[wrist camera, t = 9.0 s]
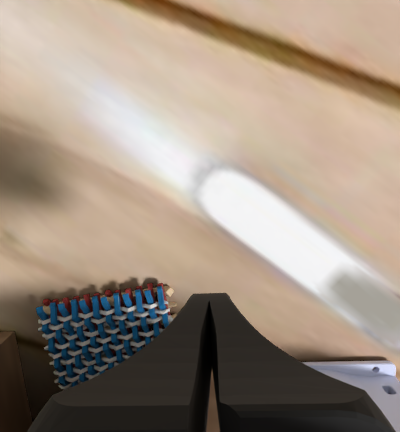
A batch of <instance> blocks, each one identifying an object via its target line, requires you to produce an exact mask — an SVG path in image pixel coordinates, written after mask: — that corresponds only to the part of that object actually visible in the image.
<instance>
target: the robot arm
mask: <svg viewBox="0 0 400 432" xmlns="http://www.w3.org/2000/svg"><path fill="white" fill-rule="evenodd" d="M374 367H376V368H375V369H373V368H374ZM212 371H213V380H214V388H215V396H216V404H217V412H218V420H219V429H220V432H400V381H399V380H398V379H397V378H396V377H395V374H396V366H395V365H394V364H393V363H392V362H391V361H336V362H300V361H298V360H296V359H295V358H293V357H292V356H290V355H288V354H287V353H285V352H284V351H282V350H281V349H279V348H278V347H276V346H275V345H274V344H272V343H271V342H270V341H269V340H267V339H266V338H265V337H263V336H262V335H261V334H260V333H259V332H258V331H257V330H256V329H255V328H254V327H253V326H252V325H251V324H250V323H249V322H248V321H247V320H246V318H245V317H244V316H243V315H242V314H241V313H240V311H239V310H238V309H237V307H236V306H235V305H234V303H233V302H232V300H231V299H230V297H229V296H228V295H227V294H226V293H210V294H193V295H192V296H191V297H190V298H189V300H188V301H187V303H186V304H185V306H184V307H183V308H182V310H181V311H180V312H179V313H178V314H177V316H176V317H175V318H174V319H173V321H172V322H171V323H170V324H169V325H168V326H167V327H166V328H165V329H164V330H163V331H162V332H161V333H160V334H159V335H158V336H157V337H156V338H155V339H154V340H152V341H151V342H150V343H149V344H148V345H146V346H145V347H144V348H142V349H141V350H140V351H138V352H137V353H135V354H134V355H132V356H131V357H129V358H128V359H126V360H125V361H123V362H122V363H120V364H118V365H116V366H115V367H113V368H111V369H109V370H108V371H106V372H104V373H102V374H100V375H98V376H96V377H94V378H92V379H90V380H87V381H85V382H83V383H80V384H78V385H76V386H73V387H71V388H68V389H66V390H64V391H61V392H59V393H56V394H53V395H52V396H51V398H50V399H49V400H48V402H47V403H46V404H45V406H44V407H43V408H42V410H41V411H40V412H39V414H38V415H37V417H36V419H35V420H34V422H33V423H32V425H31V426H30V428H29V429H28V431H27V432H206V431H207V419H208V408H209V397H210V385H211V374H212Z"/></svg>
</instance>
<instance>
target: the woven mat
mask: <svg viewBox="0 0 400 432" xmlns="http://www.w3.org/2000/svg"><path fill="white" fill-rule="evenodd" d="M147 286H148V289H142V286H138V287H136V289H137V290H135V291H132V290H131V288H126V290H125V292H121V291H120V290H116V291H115V292H114V294H113V293H112V292H111V291H110V290H106V291H105V295H106V296H105V295H102V296H100V294H99V293H95V294H94V295H93V296H94V297H90V295H89V294H86V295H84V298H82V299H80V298H79V296H75V297H74V298H73V300H69V298H68V297H66V298H63V299H62V301H63V302H59V301H58V299H54V300H53V301H52V302H51V301H50V300H49V299H44V300H43V304H44V305H45V306H40V307H37V308H36V311H37V314H38V316H39V317H40V318H41V320H39V319H38V323H40V324H42V327H40V328H38V331H43V332H44V333H45V334H43V335H42V337H44V338H46V340H48V346H46V347H44V349H45V351H46V350H48V351H49V352H51V353H52V354H51V353H49V354H48V355H49V356H50V357H52V358H53V359H54V361H52V362H50V365H52V364H54V368H55V369H56V370H57V371H54V374H55V375H57V376H59V378H58V379H56V380H55V383H57V382H58V383H60V384H61V385H58V387H59V388H61V389H63V390H66V389H68V388H71V387H73V386H76V385H78V384H80V383H83V382H85V381H87V380H90V379H92V378H94V377H96V376H98V375H100V374H102V373H104V372H106V371H108V370H109V369H111V368H113V367H115V366H116V365H118V364H120V363H122V362H123V361H125V360H126V359H128V358H129V357H131V356H132V355H134V354H135V353H137V352H138V351H140V350H141V349H142V348H144V347H145V346H146V345H148V344H149V343H150V342H151V341H152V340H154V339H153V338H155V337H157V336H158V335H159V334H160V333H161V332H162V331H163V330H164V329H162V327H161V325H163V326H164V327H165V328H166V327H167V326H168V325H169V324H170V323H171V322H172V321H173V319H174V318H175V317H176V316H177V314H176V313H175V314H173V315H171V313H170V312H169V311H170V308H172V307H176V302H169V303H168V301H167V300H166V296H169V297H170V296H171V295H172V293H173V292H174V290H173V289H172V288H171V287H168V286H163V283H160V284H158V285H157V287H155V288H153V285H152V283H149V284H147ZM157 295H158V302H156V300H155V296H157ZM165 295H166V296H165ZM144 297H146V299H147V302H148V304H146V303H145V298H144ZM134 299H136V302H135V300H134ZM123 301H124V302H125V305H126V307H124V303H123ZM92 305H93V306H92ZM103 307H104V308H103ZM168 308H169V309H168ZM104 309H105V310H104ZM160 314H162V315H160ZM148 315H150V317H149V316H148ZM139 317H140V318H139ZM118 320H119V321H118ZM151 325H153V327H154V330H151ZM140 326H141V327H142V329H143V331H141V327H140ZM131 328H132V330H131ZM120 331H121V333H122V334H121V333H120ZM144 339H145V340H144ZM113 344H114V345H115V346H114V345H113ZM94 348H95V349H94ZM53 354H54V355H53Z"/></svg>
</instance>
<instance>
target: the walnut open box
mask: <svg viewBox="0 0 400 432" xmlns="http://www.w3.org/2000/svg"><path fill="white" fill-rule="evenodd" d="M31 425H32V418H31V412H30V407H29V402H28V397H27V392H26V387H25V382H24V377H23V372H22V366H21V361H20V356H19V351H18V346H17V341H16V336H15V331H5V332H0V432H27V431H28V429H29V428H30V426H31ZM206 432H220V429H219V420H218V412H217V404H216V396H215V388H214V380H213V371H212V374H211V385H210V397H209V408H208V419H207V431H206Z"/></svg>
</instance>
